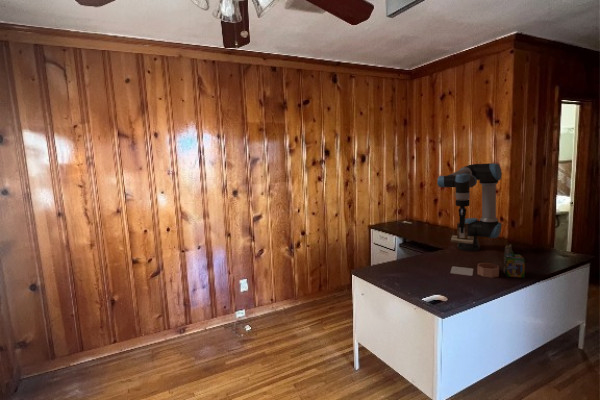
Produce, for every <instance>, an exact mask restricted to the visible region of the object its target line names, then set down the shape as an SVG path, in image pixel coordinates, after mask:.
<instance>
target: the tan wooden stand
mask: <svg viewBox="0 0 600 400" xmlns="http://www.w3.org/2000/svg"><path fill="white" fill-rule="evenodd" d="M458 226H460V222H457V223H456V235H453V234H452V235H451V238H450V243H457V244H458V243H470V244H473V240H474V237H471V236H468V223H464V226H465V238H460V228H459V227H458Z"/></svg>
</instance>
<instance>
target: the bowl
mask: <svg viewBox="0 0 600 400" xmlns="http://www.w3.org/2000/svg"><path fill="white" fill-rule="evenodd" d="M477 275H479V276H482V277H484V278H485V277H486V278H498V277H499V276H500V265H497V264H496V263H491V262H490V263H489V262H480V263H477Z"/></svg>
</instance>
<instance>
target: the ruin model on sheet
mask: <svg viewBox="0 0 600 400" xmlns="http://www.w3.org/2000/svg"><path fill="white" fill-rule="evenodd" d="M512 246H513V245H512V244H511V243H507V244H506V245H505V247H504V254H512V252H511V250H512V251H513V249H512Z"/></svg>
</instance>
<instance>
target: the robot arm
mask: <svg viewBox="0 0 600 400" xmlns="http://www.w3.org/2000/svg"><path fill="white" fill-rule="evenodd" d="M502 173H503V172H502V168H501V166H500V165H499V164H498V163H494V162H493V163H473V164H469V165H466V166H463V167H461V168H459V170H457V171H455V172H454V171H453V172H452V173H450V174H448V175H439V176H438V177H437V186H438V187H440V188H455V194H454V196H455V207H459V208H458V216H459V223H460V226H458V227H459V228H460V238H465V226H464V223H468V236H471V237H474V240H473V244H470V243H457V249H459V250H461V251H464V252H465V251H466V252H476V251H480V249H481V247H480V242H479V240H478V237H481V238H488V239H498V238H499V236H500V234H501V231H502V226H503V225H502V223H501V222H499V219H498V218H497V184H498V183H499V181H501V179H502V175H503V174H502ZM478 182H479V183H478ZM477 183H478V184H480V186H481V217H480V218H479V219H478V218H477V217H467V218H466V215H467V208H466V207H469V206H470V198H471V196H470V195H471V194H470V193H471V192H470V190H471V189H470V188H473V187H475V186H476V185H477Z"/></svg>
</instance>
